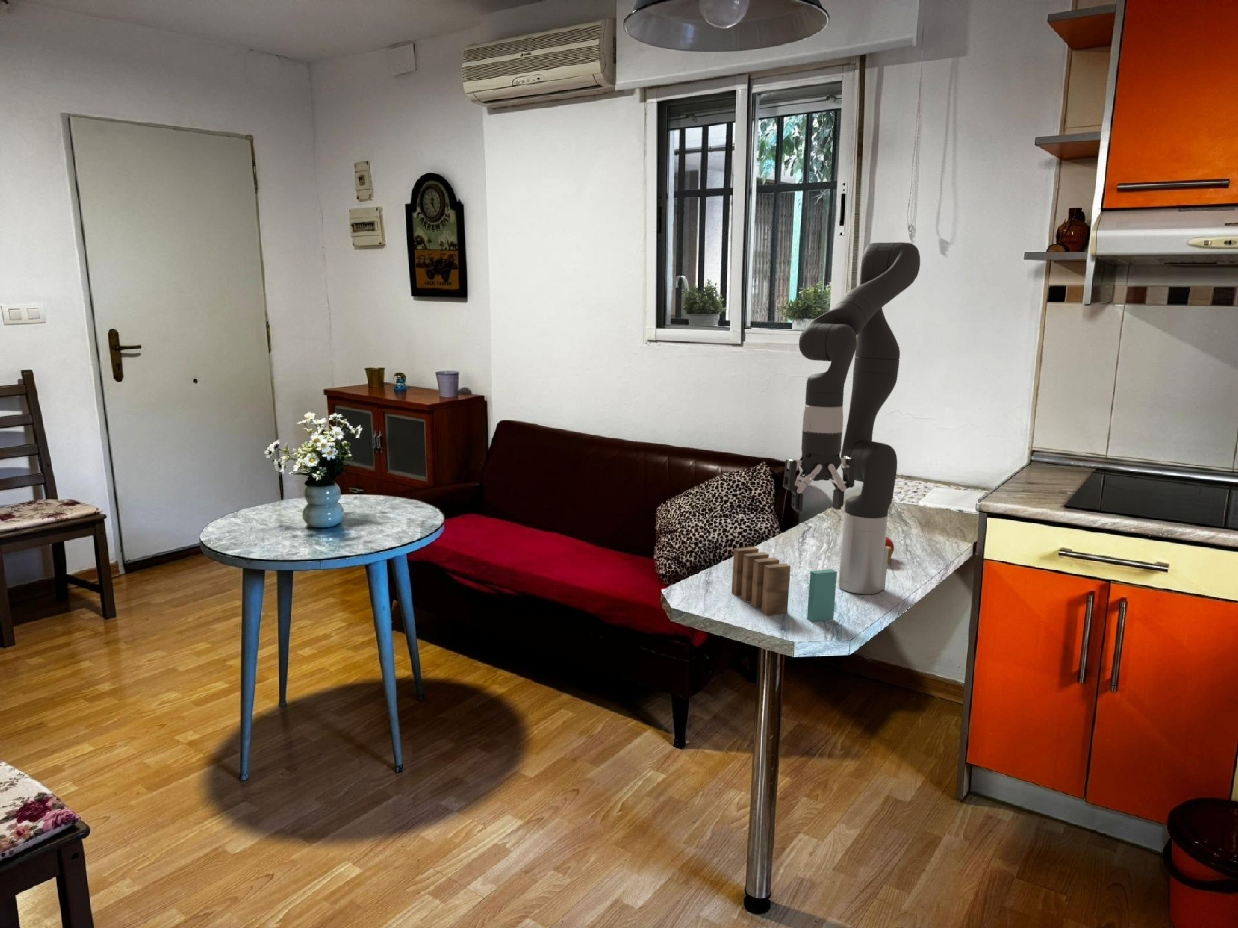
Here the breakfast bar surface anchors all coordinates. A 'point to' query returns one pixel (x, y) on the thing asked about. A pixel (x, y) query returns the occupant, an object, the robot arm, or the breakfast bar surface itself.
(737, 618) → the breakfast bar surface
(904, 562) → the breakfast bar surface
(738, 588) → the domino
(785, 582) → the domino
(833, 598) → the teal domino
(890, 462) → the robot arm
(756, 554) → the domino
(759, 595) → the domino
